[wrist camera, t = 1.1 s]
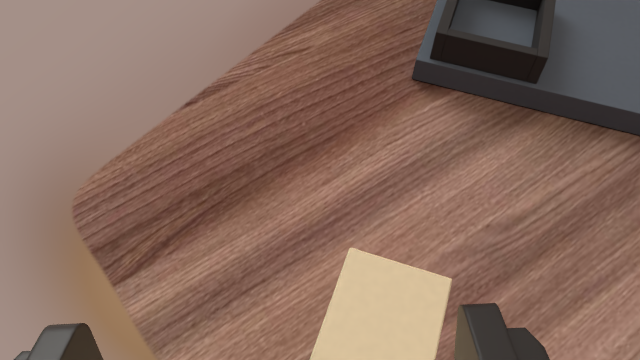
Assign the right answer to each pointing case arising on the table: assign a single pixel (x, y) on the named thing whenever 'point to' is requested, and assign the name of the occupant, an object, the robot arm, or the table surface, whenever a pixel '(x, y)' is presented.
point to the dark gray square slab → (540, 55)
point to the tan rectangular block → (383, 312)
